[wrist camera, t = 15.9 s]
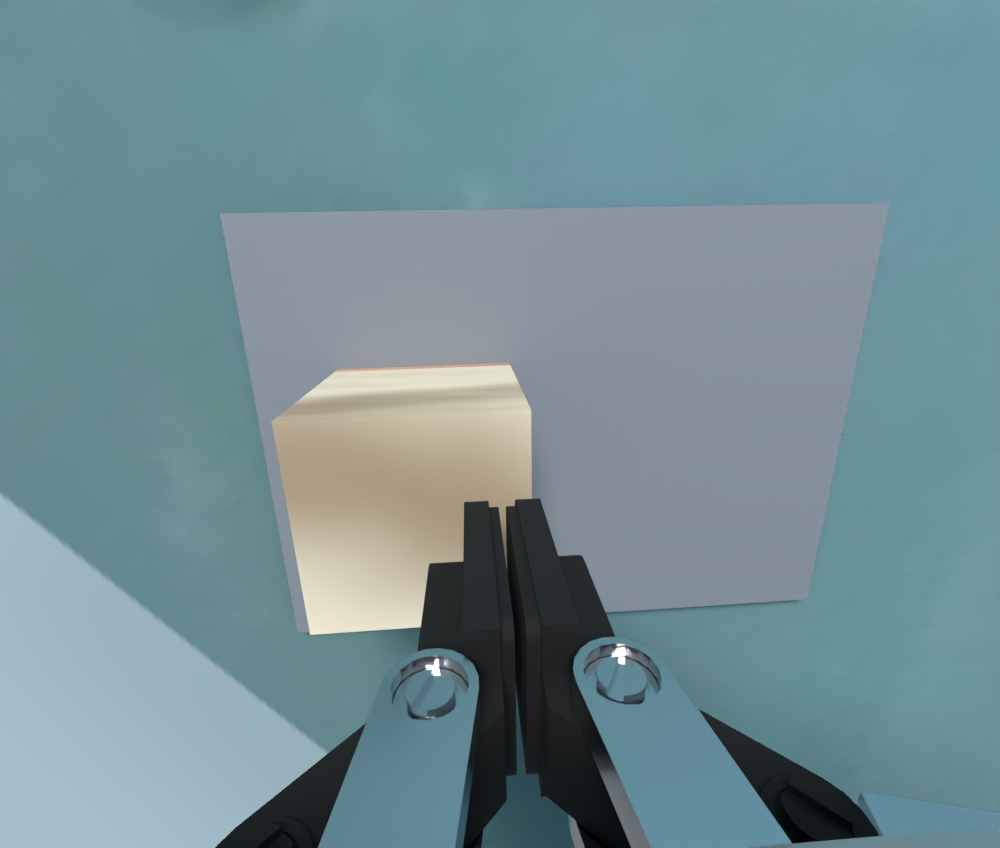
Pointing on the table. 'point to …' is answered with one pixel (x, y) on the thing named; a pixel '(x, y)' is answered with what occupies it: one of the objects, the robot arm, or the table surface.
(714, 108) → the table surface
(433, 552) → the cube
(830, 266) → the mat
